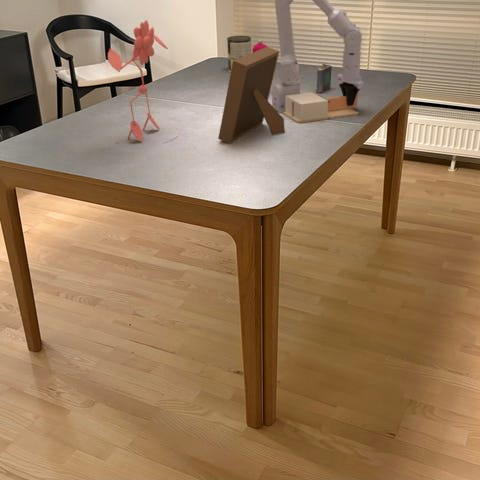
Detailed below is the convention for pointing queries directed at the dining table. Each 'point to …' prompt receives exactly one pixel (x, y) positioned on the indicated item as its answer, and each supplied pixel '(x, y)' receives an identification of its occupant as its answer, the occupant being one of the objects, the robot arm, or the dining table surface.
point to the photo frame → (250, 96)
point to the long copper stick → (340, 103)
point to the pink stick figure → (143, 51)
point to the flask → (323, 78)
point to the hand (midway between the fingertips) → (348, 104)
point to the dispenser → (311, 108)
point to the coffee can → (238, 48)
